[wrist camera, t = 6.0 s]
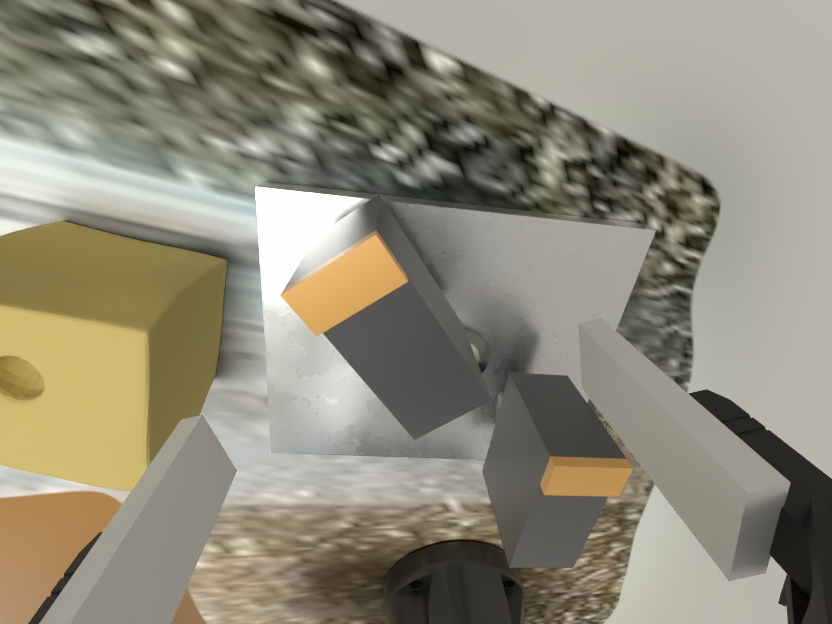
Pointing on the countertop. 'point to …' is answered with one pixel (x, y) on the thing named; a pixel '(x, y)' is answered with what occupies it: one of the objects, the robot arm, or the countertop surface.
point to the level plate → (466, 293)
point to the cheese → (101, 349)
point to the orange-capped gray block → (388, 319)
